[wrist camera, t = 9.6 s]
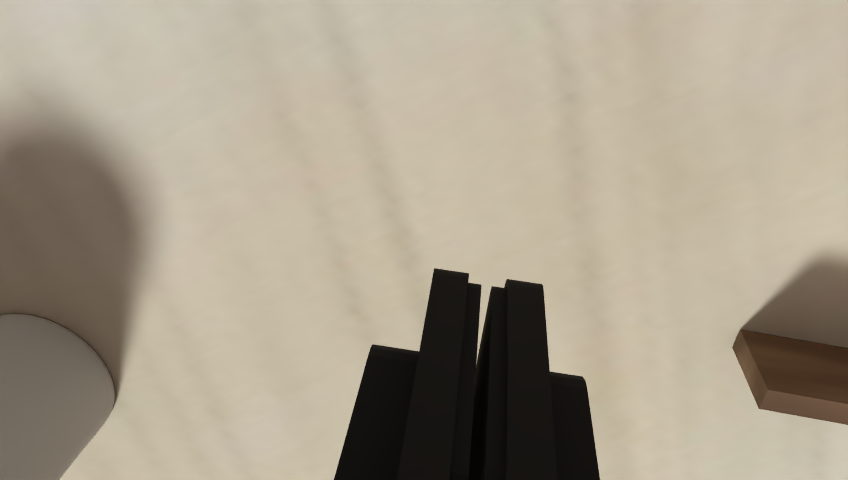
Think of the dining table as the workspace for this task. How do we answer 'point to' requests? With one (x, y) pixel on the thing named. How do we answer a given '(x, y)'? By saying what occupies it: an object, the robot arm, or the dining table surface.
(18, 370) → the mug
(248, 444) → the dining table surface
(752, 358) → the box
